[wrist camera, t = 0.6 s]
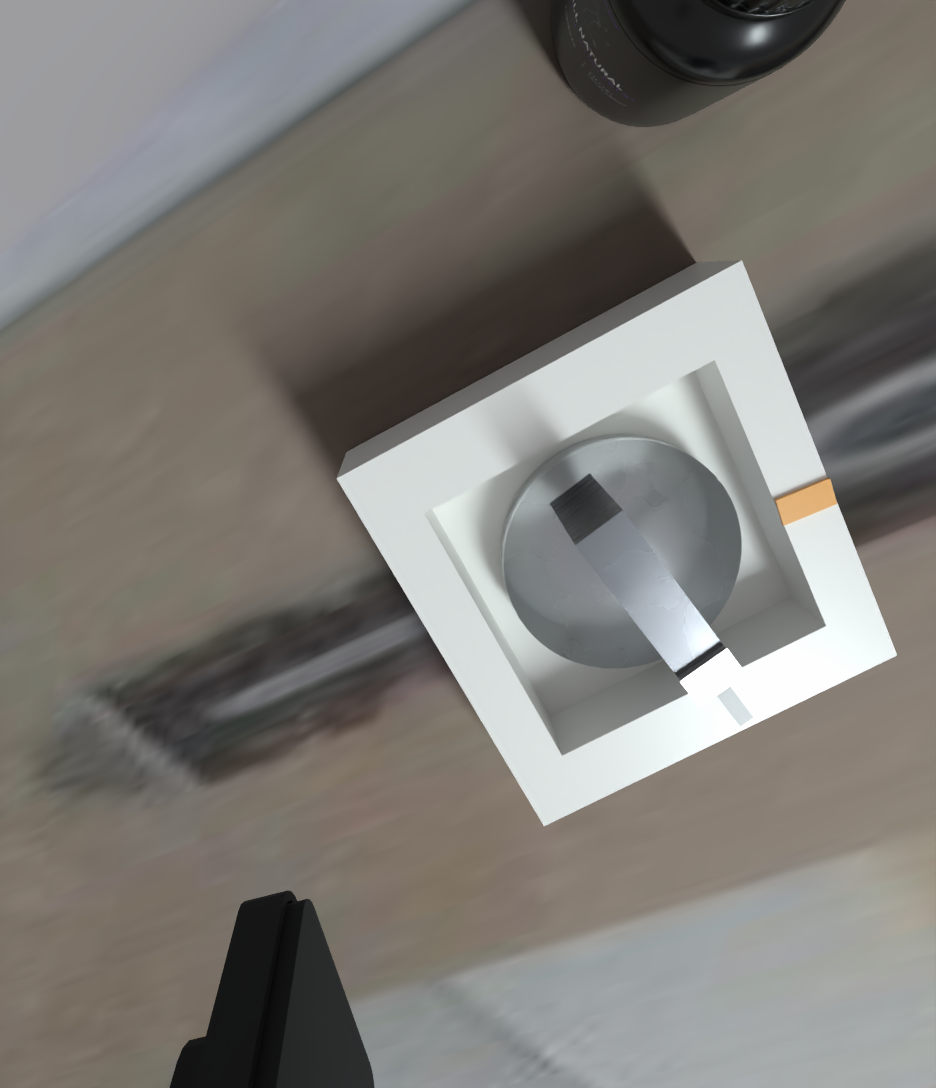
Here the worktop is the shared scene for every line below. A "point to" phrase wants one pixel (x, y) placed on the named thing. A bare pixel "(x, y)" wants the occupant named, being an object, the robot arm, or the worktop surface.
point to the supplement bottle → (677, 50)
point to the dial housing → (633, 408)
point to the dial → (626, 559)
